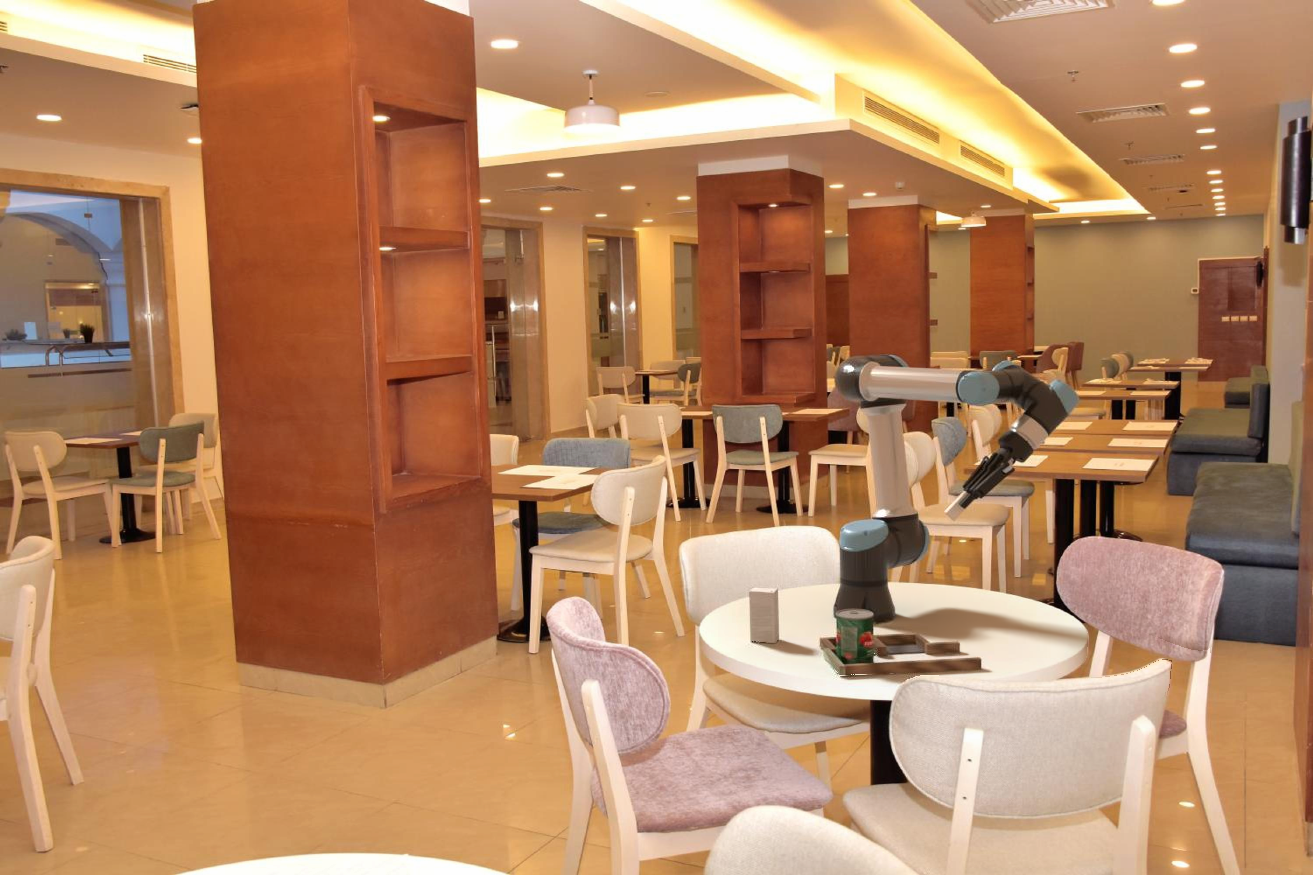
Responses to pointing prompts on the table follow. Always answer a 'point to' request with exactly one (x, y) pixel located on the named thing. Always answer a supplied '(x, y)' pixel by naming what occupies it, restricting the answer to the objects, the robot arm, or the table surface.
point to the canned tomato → (855, 636)
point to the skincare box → (764, 615)
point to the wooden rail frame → (899, 646)
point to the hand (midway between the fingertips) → (949, 516)
